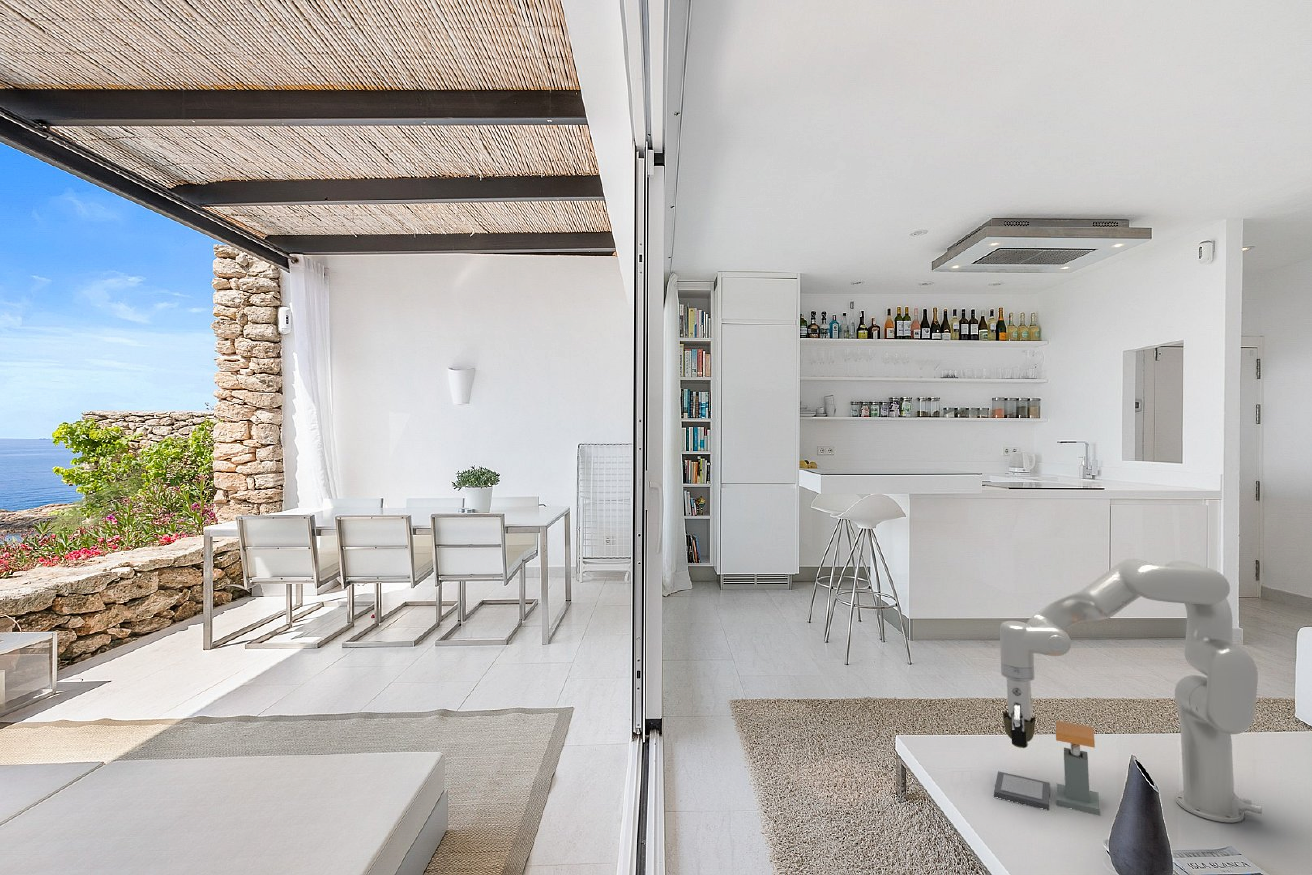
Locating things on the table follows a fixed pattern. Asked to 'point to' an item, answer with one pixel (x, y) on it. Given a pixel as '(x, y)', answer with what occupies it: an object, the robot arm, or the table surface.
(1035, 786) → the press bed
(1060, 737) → the handle
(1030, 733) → the wire cup brush
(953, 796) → the table surface
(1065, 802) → the press stand
